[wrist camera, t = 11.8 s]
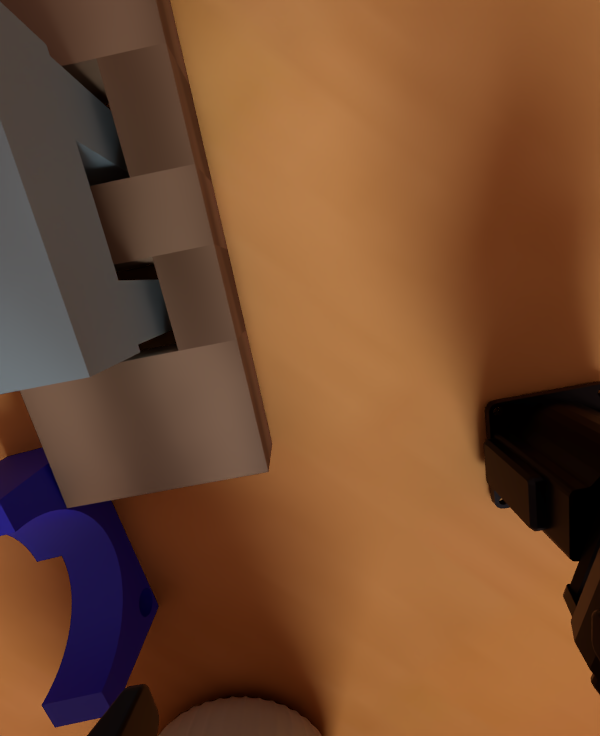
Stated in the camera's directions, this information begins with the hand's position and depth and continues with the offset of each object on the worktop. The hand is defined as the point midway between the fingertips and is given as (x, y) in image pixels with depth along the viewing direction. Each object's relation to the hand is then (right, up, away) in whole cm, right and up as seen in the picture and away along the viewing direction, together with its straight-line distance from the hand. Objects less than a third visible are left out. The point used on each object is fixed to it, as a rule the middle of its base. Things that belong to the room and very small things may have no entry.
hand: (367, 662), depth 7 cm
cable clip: (-14, -4, +15) cm, 21 cm away
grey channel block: (-10, +12, +10) cm, 19 cm away
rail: (-10, +12, +10) cm, 19 cm away
